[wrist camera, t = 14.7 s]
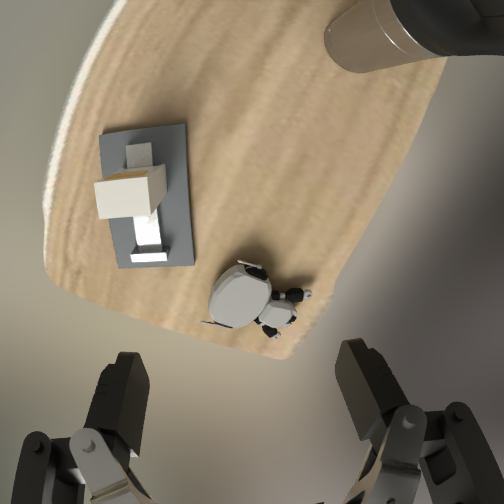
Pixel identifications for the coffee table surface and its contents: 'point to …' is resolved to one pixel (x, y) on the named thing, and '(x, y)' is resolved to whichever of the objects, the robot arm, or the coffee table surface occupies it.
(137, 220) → the rail
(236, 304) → the robot toy
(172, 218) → the rail board
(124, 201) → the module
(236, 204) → the coffee table surface
